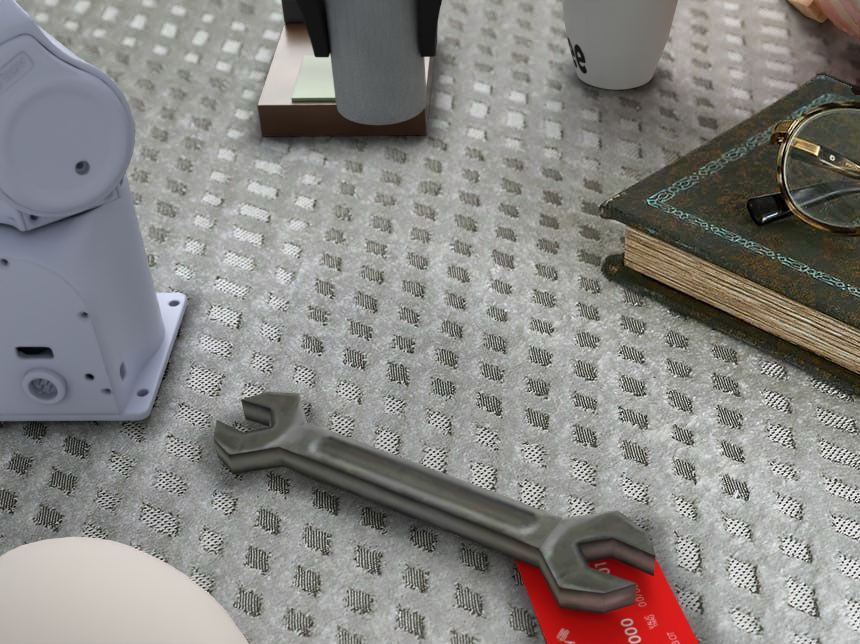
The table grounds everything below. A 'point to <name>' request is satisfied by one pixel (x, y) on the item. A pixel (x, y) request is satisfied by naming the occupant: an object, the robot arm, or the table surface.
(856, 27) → the planter
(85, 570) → the egg
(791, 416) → the table surface
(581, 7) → the cup
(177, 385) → the table surface
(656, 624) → the credit card
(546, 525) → the wrench
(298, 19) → the box with green square
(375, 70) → the grey hollow cylinder
